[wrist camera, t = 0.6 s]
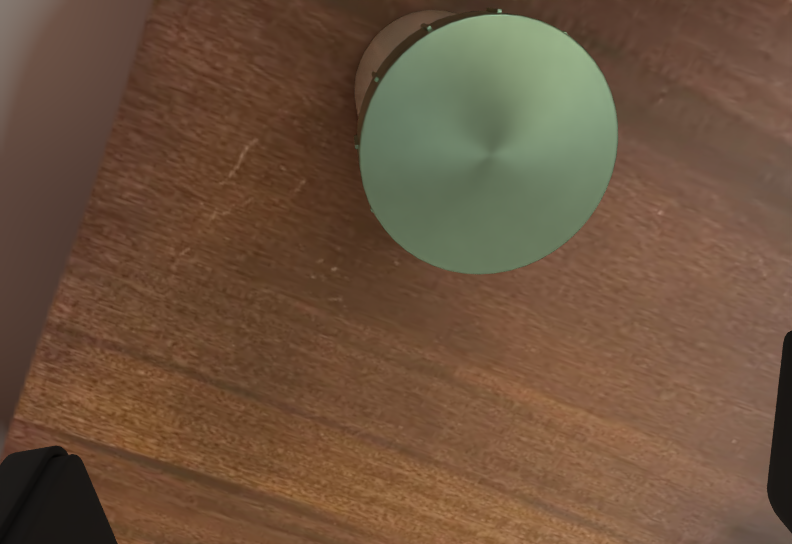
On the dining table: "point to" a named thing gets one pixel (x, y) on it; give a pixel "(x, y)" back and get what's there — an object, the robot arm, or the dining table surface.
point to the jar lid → (486, 141)
